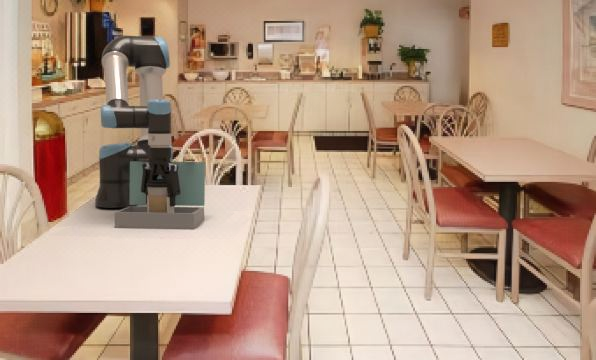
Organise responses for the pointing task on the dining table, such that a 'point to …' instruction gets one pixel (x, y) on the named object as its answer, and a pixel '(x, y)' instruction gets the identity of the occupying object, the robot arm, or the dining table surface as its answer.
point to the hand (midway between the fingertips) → (160, 215)
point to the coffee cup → (157, 195)
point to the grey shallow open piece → (159, 218)
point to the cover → (189, 183)
